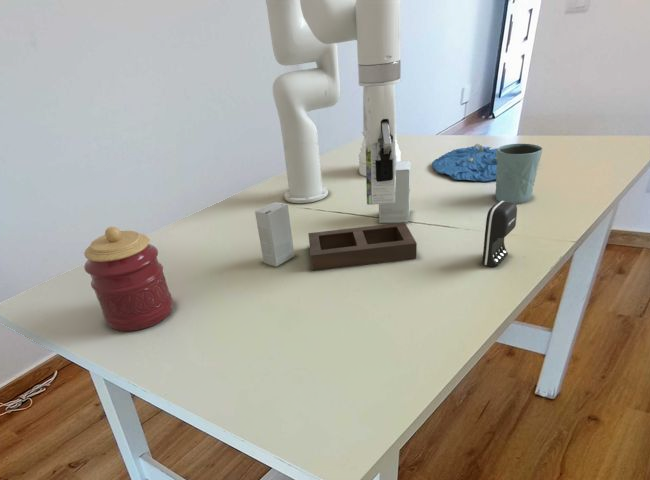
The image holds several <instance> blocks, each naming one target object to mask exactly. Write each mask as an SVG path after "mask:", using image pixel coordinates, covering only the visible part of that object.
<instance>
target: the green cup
mask: <svg viewBox="0 0 650 480" xmlns="http://www.w3.org/2000/svg"><path fill="white" fill-rule="evenodd" d="M542 153H543V147H542V146H540V145H537V144H533V143H532V144H531V143H509V144H505V145H501V146H499V147H498V148H497V172H496V175H497V176H496V179H495V191H494V193H495V194H494V198H495V200H496V201H497V202H499V201H505V202H512V203H514V204H516V205H517V204H518V205H519V204H524V203H527V202H529V201H530V200H531V199H532V196H533V191H534V186H535V182H536V178H537V175H538V169H539V165H540V161H541V157H542Z"/></svg>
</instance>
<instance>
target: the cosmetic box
mask: <svg viewBox="0 0 650 480" xmlns="http://www.w3.org/2000/svg"><path fill="white" fill-rule="evenodd" d="M254 215H255V220H256V227H257V230H258V231H257V232H258V237H259V238H258V239H259V243H260V249H261V256H262V262H263V263H264V264H266V265H269V266H272V267H279V266H280V265H282V264H284V263H286V262H287V261H289V260H291V259H292V258H294V257H295V251H294V250H295V249H294V242H293V235H292V226H291V219H290V211H289V205H288V204H287V203H283V202H277V201H274V202H271V203H269V204H267V205H265V206H263V207H261V208H259V209H257V210H255V211H254Z"/></svg>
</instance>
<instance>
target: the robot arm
mask: <svg viewBox="0 0 650 480" xmlns="http://www.w3.org/2000/svg"><path fill="white" fill-rule="evenodd" d="M265 5H266V11H267V18H268V25H269V31H270V39H271V46H272V52H273V55H274V58H275V61H276V62H277V63H278V64H279V65H280V66H298V65H304V64H309V63H315V64H316V67H313V68H308V69H298V70H294V71H287V72H285V73H282V74H280V75H279V76H277V77H276V78H275V79H274V81H273V83H272V96H273V100H274V104H275V107H276V111H277V114H278V115H277V116H278V119H279V124H280V125H279V126H280V130H281V131H280V132H281V139H282V145H283V154H284V160H285V167H286V168H285V169H286V177H287V184H288V185H287V186H288V190H287V191H285V193H284V195H283V196H284V200H285V201H287V202H289V203H293V204H308V203H313V202H317V201H321V200H323V199H325V198H327V196H328V195H329V189H328V188H327V187H326V186H323V181H322V169H321V168H322V167H321V157H320V147H319V137H318V129H317V125H316V124H315V123H314V121H313V120H312V119H311V118H310V117H309V116H308V114H307V113H308V112H311V111H316V110H320V109H326V108H329V107H331V108H332V107H333V106H335V105H336V104H337V103H338V102H339V100H340V95H341V81H340V79H341V78H340V66H339V53H338V44H340V43H345V42H346V43H347V42H352V41H356V42H357V43H356V48H357V49H356V50H357V75H358V86H359V87H363V91H362V94H363V95H362V112H363V113H362V114H363V115H362V132H363V134H364V136H363V138H364V137H365V139H366V135H365V131H366V129H367V131H368V143H369V144H370V145H371V146H372V145H373V143H376V152H377V160H376V181H377V182H381V181H390V180H392V179H393V158H392V145H391V143H393V142H394V141H395V137H396V138H397V107H396V103H397V102H396V97H397V96H396V84H398V83H400V82H401V81H402V80H401V79H402V78H401V73H402V71H401V70H402V69H401V68H402V67H401V66H402V65H401V63H402V62H401V61H402V60H401V59H402V53H401V52H402V51H401V50H402V43H401V41H402V40H401V38H402V37H401V36H402V35H401V33H402V31H401V30H402V29H401V28H402V27H401V26H402V0H265ZM363 134H362V135H363ZM391 136H393V139H391ZM382 139H383V142H379V141H378V140H382ZM391 141H392V142H391ZM380 147H383V148H381V150H380Z"/></svg>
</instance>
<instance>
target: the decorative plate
mask: <svg viewBox="0 0 650 480" xmlns="http://www.w3.org/2000/svg"><path fill="white" fill-rule="evenodd" d="M497 149H498V148H497V147H495V148H492V146H483V145H480V144H479V143H476V144H474V146H468V147H461V148H456V149H452V150H451V151H448V152H446V153H445V154H442V155H441V156H439V157H438V158H435V159H434V160H433V161H432V163H431V167H432V168H433V169H434V170H436V172H437V173H439V174H446V175H447V176H448V175H449V177H450V178H451V179H453V180H459V181H462V180H465V181H473V182H474V181H476V182H488V181H493V180H496V176H497V175H496V172H497Z"/></svg>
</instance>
